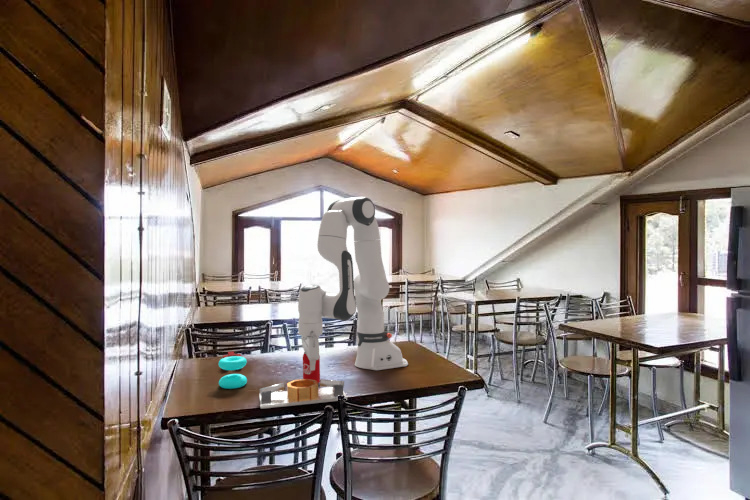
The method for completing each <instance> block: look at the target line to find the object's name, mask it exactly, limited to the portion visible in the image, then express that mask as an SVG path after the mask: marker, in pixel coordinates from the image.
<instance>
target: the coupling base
mask: <svg viewBox="0 0 750 500" xmlns="http://www.w3.org/2000/svg"><path fill="white" fill-rule="evenodd" d="M344 388H345V380H337V379H336V380H334V379H324V378H320V383H318V382H317V381H316V380H311V379H303V378H300V379H294V380H291V381H288V382H287V383H286V388H285V383H284V382H280V383H277V384H273V385H270V386H266V387H265V386H264V387H262V388H259V395H258V396H259V406H260V407H259V408H260V409H261V410H263V409H271V408H281V407H292V406H302V405H303V406H304V405H311V404H319V403H329V402H339V401H338V395H344V396H345V399H346V400H345V401H348V395H347V394H346V393H345V391H344Z"/></svg>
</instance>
